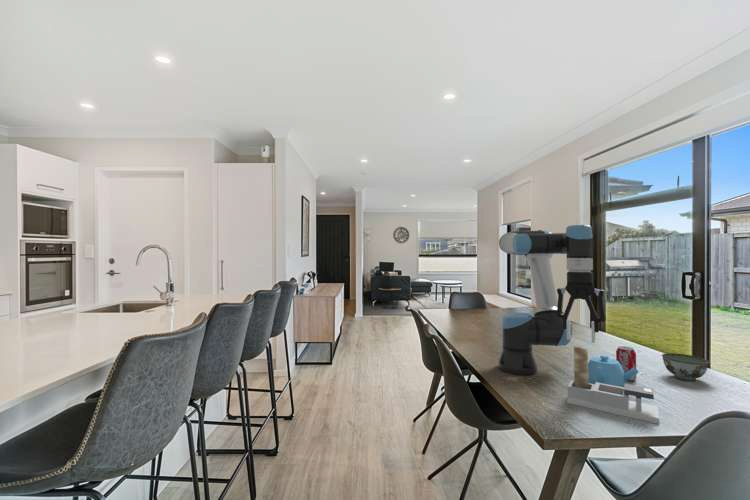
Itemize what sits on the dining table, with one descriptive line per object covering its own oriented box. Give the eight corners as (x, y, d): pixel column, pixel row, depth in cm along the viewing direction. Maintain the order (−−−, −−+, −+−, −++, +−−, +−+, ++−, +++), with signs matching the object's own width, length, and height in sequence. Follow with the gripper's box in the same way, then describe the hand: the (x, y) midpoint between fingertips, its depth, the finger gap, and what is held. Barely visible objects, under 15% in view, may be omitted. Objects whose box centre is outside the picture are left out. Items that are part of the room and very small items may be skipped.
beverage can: (640, 382, 129) (639, 350, 130) (621, 381, 131) (620, 349, 131) (631, 376, 136) (630, 346, 136) (613, 375, 137) (612, 345, 137)
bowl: (660, 378, 133) (660, 358, 133) (663, 370, 143) (662, 351, 143) (710, 387, 124) (709, 365, 124) (708, 378, 133) (708, 357, 133)
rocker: (624, 393, 104) (623, 388, 104) (624, 387, 109) (624, 382, 109) (653, 399, 100) (653, 394, 100) (653, 393, 105) (652, 387, 105)
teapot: (595, 394, 118) (594, 361, 119) (573, 380, 132) (573, 350, 132) (640, 394, 118) (639, 361, 118) (613, 380, 132) (613, 350, 132)
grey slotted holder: (567, 402, 112) (566, 386, 112) (572, 393, 120) (571, 377, 120) (659, 423, 98) (658, 404, 98) (657, 411, 106) (657, 393, 106)
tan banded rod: (573, 396, 113) (572, 347, 114) (575, 392, 117) (574, 345, 117) (588, 399, 111) (587, 349, 111) (589, 395, 114) (588, 347, 114)
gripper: (545, 271, 118) (546, 338, 117) (614, 272, 106) (615, 347, 105) (549, 270, 123) (551, 334, 123) (615, 271, 112) (617, 342, 111)
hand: (580, 340), depth 114 cm, fingers open, 6 cm apart
